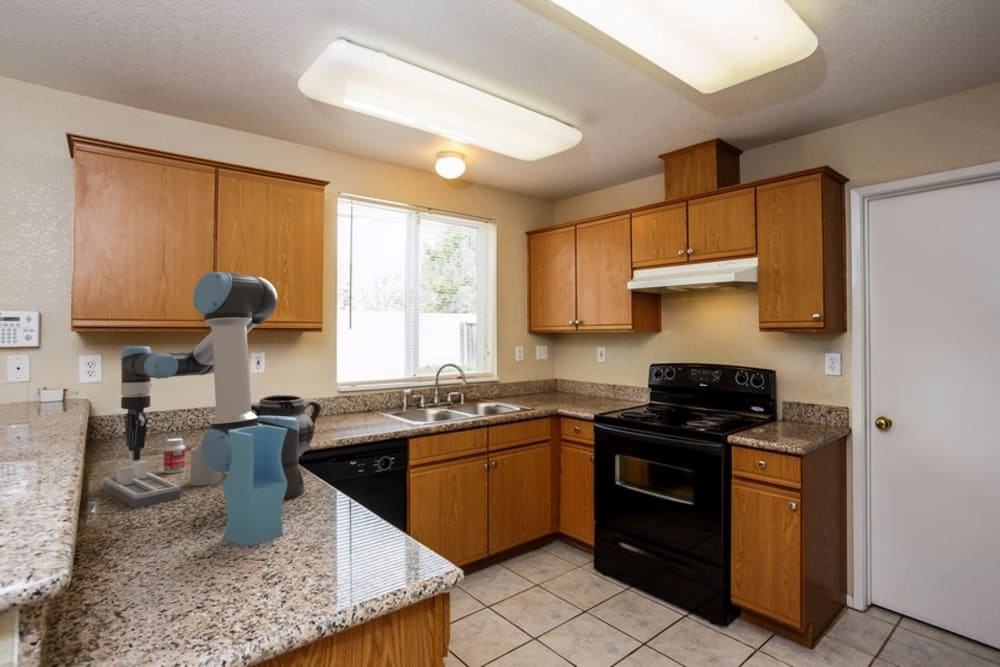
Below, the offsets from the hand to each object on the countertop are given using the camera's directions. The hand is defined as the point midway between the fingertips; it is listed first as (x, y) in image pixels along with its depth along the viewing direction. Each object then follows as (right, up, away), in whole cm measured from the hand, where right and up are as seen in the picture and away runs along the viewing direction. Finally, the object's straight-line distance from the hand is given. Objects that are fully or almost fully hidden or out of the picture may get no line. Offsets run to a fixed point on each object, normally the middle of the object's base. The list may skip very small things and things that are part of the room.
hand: (135, 470), depth 160 cm
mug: (+20, -5, +4) cm, 21 cm away
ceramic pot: (+35, -5, +24) cm, 43 cm away
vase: (+57, -5, -40) cm, 70 cm away
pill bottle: (+3, -5, +14) cm, 15 cm away
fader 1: (+3, -2, -9) cm, 9 cm away
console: (+9, -4, -10) cm, 14 cm away
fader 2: (+3, -2, -2) cm, 4 cm away
